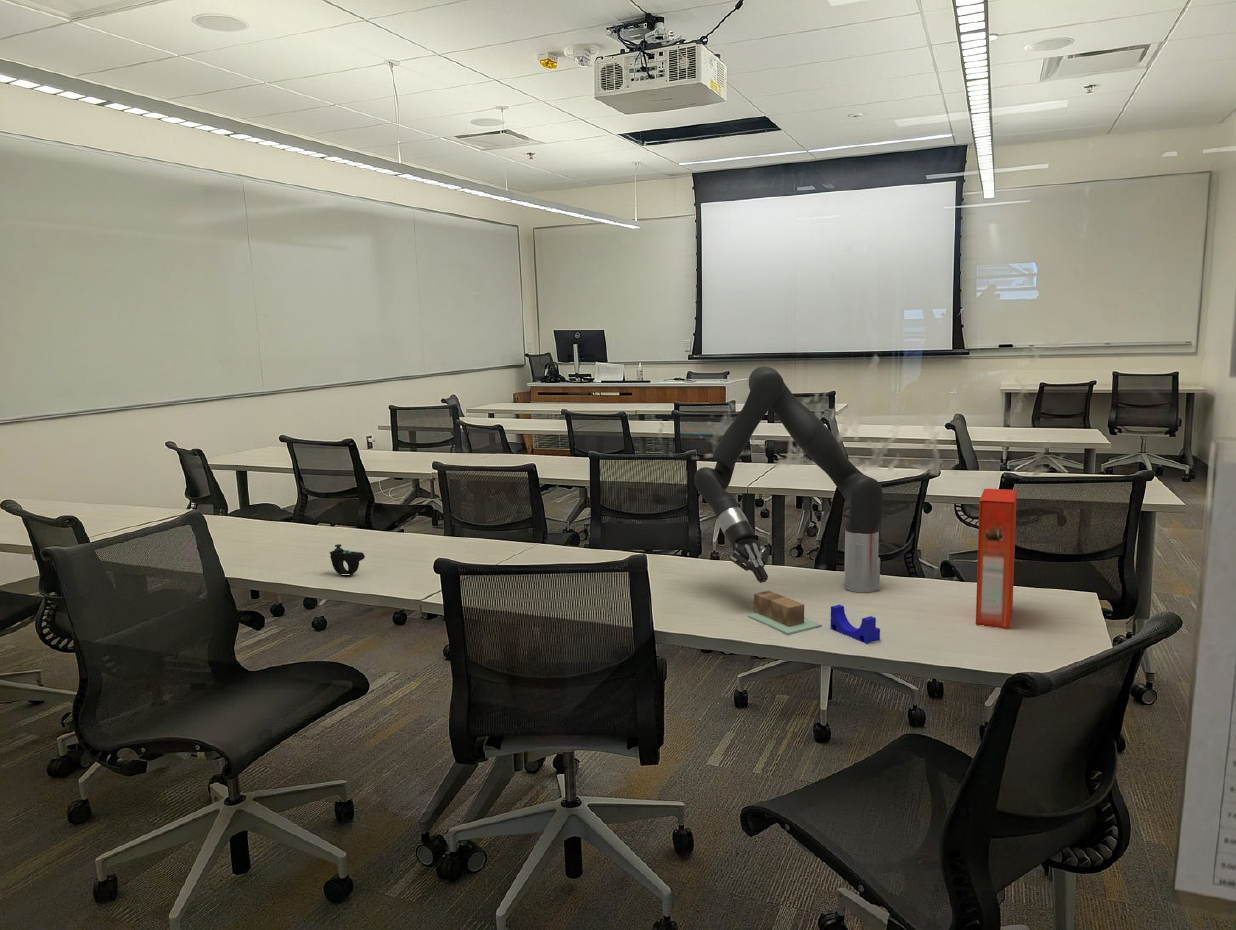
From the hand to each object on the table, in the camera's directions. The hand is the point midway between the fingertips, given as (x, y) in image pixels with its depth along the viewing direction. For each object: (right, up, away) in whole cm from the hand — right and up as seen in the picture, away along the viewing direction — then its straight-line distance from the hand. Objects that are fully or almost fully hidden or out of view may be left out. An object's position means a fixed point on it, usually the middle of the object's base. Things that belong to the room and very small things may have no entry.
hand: (764, 581), depth 213 cm
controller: (-127, -5, +48) cm, 135 cm away
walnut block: (0, -6, +2) cm, 6 cm away
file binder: (+58, -9, -6) cm, 59 cm away
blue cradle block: (+19, -11, -16) cm, 27 cm away
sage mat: (+4, -10, -6) cm, 12 cm away
